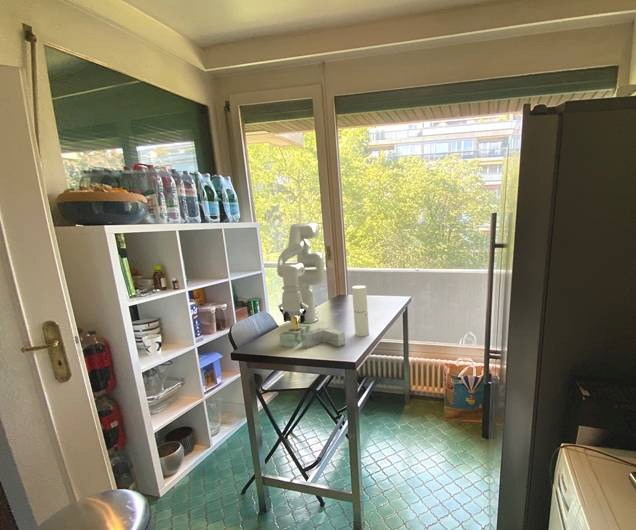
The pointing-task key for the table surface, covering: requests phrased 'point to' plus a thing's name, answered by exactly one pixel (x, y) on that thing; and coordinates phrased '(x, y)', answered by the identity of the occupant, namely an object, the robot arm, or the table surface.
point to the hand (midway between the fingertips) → (294, 321)
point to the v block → (323, 337)
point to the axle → (294, 323)
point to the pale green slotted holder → (293, 336)
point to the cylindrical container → (360, 310)
